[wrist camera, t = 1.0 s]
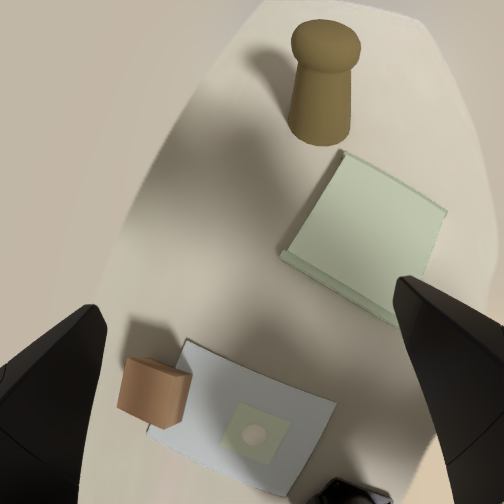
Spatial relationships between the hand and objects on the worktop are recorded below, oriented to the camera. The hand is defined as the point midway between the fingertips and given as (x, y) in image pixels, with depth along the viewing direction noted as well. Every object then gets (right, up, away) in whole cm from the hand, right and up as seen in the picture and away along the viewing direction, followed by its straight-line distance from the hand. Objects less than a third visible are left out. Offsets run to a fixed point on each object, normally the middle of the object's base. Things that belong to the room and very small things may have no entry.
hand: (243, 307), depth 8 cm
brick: (-6, -9, +12) cm, 16 cm away
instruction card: (-1, -11, +11) cm, 16 cm away
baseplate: (+10, +3, +14) cm, 17 cm away
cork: (+7, +14, +18) cm, 24 cm away
